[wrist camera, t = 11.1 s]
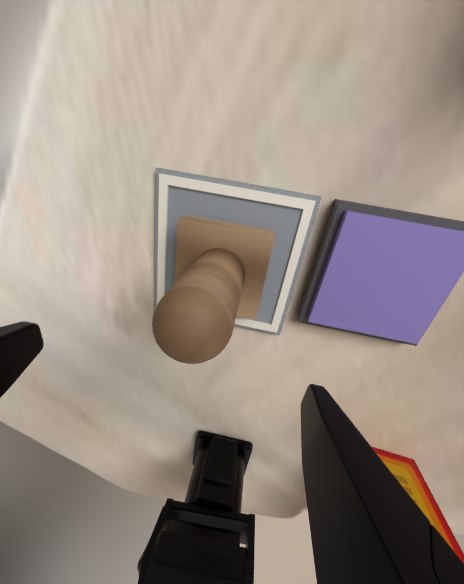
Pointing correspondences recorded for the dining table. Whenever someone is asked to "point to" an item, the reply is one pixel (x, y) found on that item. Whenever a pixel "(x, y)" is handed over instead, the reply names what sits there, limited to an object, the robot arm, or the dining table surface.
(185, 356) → the stamp
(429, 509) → the baking soda box
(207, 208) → the print card
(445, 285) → the ink pad
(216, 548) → the robot arm
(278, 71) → the dining table surface
